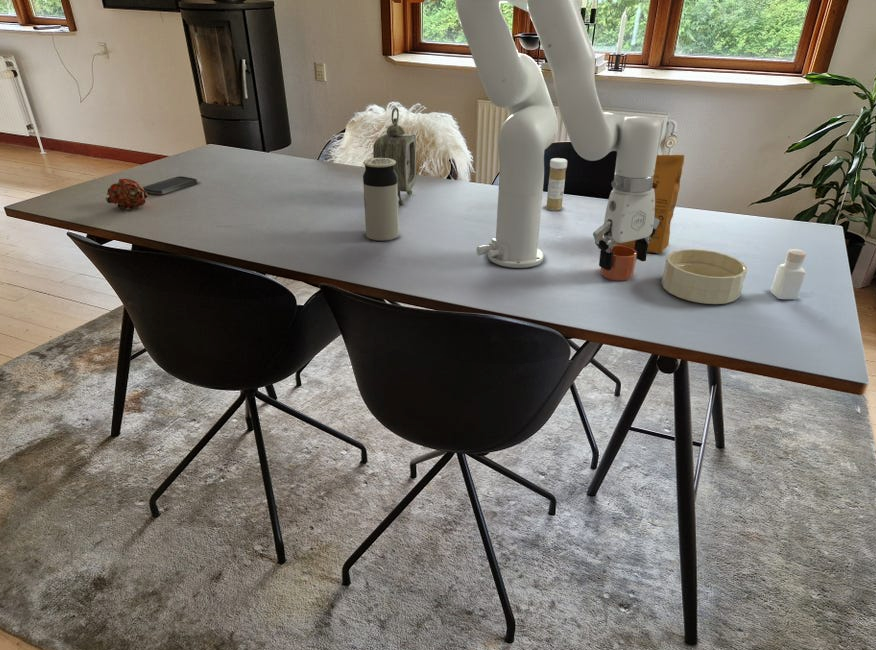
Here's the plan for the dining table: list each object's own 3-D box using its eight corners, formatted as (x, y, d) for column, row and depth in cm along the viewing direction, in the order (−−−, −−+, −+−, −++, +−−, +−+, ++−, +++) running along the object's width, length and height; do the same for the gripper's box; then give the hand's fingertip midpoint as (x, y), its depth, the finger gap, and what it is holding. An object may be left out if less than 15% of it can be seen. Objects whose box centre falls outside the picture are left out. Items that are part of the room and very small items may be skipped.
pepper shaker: (787, 292, 129) (801, 248, 124) (797, 300, 126) (812, 255, 121) (768, 291, 129) (782, 248, 124) (778, 300, 125) (792, 255, 121)
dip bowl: (615, 283, 131) (619, 259, 128) (593, 272, 136) (596, 248, 134) (639, 277, 134) (644, 253, 131) (617, 266, 139) (621, 243, 136)
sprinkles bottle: (553, 205, 178) (558, 156, 171) (565, 209, 175) (571, 160, 168) (542, 208, 176) (546, 159, 169) (554, 212, 173) (559, 162, 166)
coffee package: (623, 234, 158) (638, 144, 146) (673, 244, 152) (692, 151, 140) (609, 245, 151) (623, 151, 139) (660, 257, 145) (679, 160, 133)
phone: (198, 179, 191) (159, 191, 179) (199, 183, 191) (160, 195, 180) (179, 175, 194) (139, 187, 182) (180, 179, 194) (140, 191, 182)
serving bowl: (703, 312, 120) (710, 283, 117) (645, 283, 132) (651, 256, 128) (755, 296, 127) (763, 269, 124) (696, 270, 138) (702, 244, 135)
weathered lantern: (406, 208, 173) (404, 112, 160) (374, 206, 174) (370, 111, 162) (416, 193, 186) (415, 103, 173) (386, 192, 187) (383, 102, 174)
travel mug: (403, 232, 156) (401, 158, 147) (392, 243, 150) (389, 166, 140) (373, 229, 158) (369, 156, 149) (361, 239, 151) (356, 163, 142)
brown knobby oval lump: (147, 217, 167) (116, 218, 172) (161, 192, 171) (130, 193, 175) (123, 197, 160) (91, 197, 165) (137, 171, 163) (106, 172, 168)
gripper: (613, 193, 119) (603, 277, 127) (678, 181, 126) (664, 261, 134) (587, 185, 124) (579, 266, 133) (651, 173, 131) (639, 251, 140)
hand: (622, 263), depth 134 cm, fingers open, 9 cm apart
